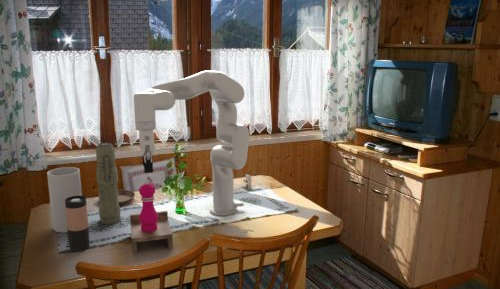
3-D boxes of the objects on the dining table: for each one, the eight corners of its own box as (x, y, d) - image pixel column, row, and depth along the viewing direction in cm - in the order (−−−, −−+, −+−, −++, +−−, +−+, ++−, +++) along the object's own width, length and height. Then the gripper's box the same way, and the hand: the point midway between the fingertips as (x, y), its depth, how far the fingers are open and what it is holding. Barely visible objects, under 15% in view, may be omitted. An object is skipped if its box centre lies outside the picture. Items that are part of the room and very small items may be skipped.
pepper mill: (154, 233, 172) (151, 183, 167) (136, 231, 173) (133, 182, 168) (161, 225, 179) (159, 178, 174) (144, 224, 180) (141, 177, 175)
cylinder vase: (53, 224, 195) (47, 169, 189) (83, 219, 200) (78, 165, 194) (53, 235, 184) (46, 177, 178) (85, 230, 189) (80, 173, 183)
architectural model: (246, 190, 240) (246, 177, 239) (239, 187, 246) (239, 174, 245) (251, 189, 242) (251, 176, 240) (245, 186, 248) (245, 173, 246)
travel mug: (72, 243, 176) (68, 195, 172) (92, 243, 177) (88, 195, 172) (66, 252, 169) (61, 202, 164) (87, 251, 170) (83, 202, 165)
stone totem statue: (118, 214, 206) (112, 140, 198) (123, 223, 196) (118, 145, 188) (98, 217, 202) (91, 142, 194) (102, 226, 192) (96, 147, 184)
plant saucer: (136, 205, 218) (135, 199, 217) (98, 209, 213) (97, 203, 212) (134, 193, 234) (134, 188, 234) (99, 197, 229) (98, 191, 229)
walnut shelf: (168, 230, 188) (167, 210, 186) (172, 248, 173) (172, 226, 170) (131, 235, 184) (130, 214, 182) (132, 253, 168) (131, 231, 166)
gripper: (157, 129, 161) (159, 174, 165) (153, 120, 177) (155, 162, 181) (136, 130, 159) (138, 176, 163) (134, 121, 175) (136, 163, 179)
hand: (147, 169), depth 172 cm, fingers open, 9 cm apart
